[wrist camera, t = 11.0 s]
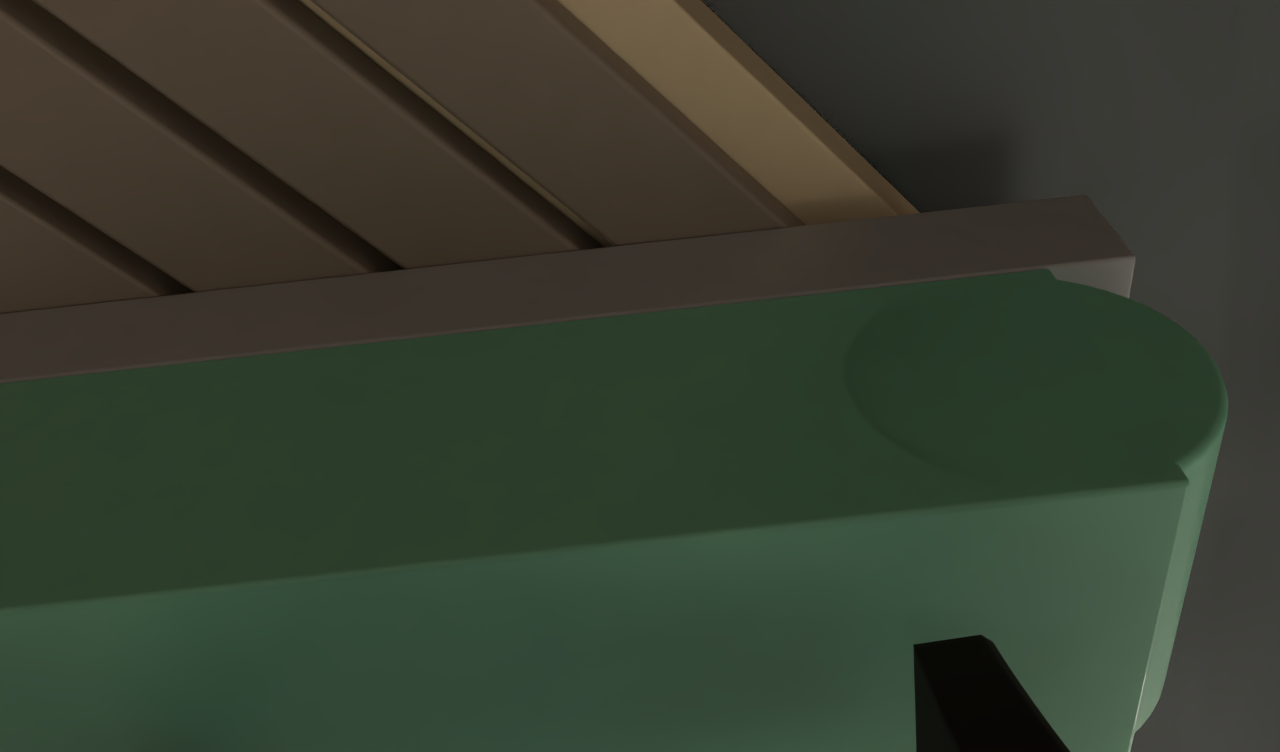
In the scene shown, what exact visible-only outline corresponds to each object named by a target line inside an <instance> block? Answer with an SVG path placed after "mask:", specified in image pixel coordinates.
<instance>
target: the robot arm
mask: <svg viewBox="0 0 1280 752" xmlns="http://www.w3.org/2000/svg"><path fill="white" fill-rule="evenodd" d="M913 651H914V685H915V718H916V752H1070V751H1069V749H1068V748H1067V747H1066V745H1065V744H1064V743H1063V741H1062V740H1061V739H1060V737H1059V736H1058V735H1057V733H1056V732H1055V731H1054V730H1053V728H1052V727H1051V726H1050V724H1049V723H1048V721H1047V720H1046V719H1045V717H1044V716H1043V715H1042V713H1041V712H1040V710H1039V709H1038V708H1037V706H1036V705H1035V704H1034V702H1033V701H1032V699H1031V698H1030V697H1029V695H1028V694H1027V692H1026V691H1025V689H1024V688H1023V687H1022V685H1021V684H1020V682H1019V681H1018V679H1017V678H1016V676H1015V675H1014V673H1013V672H1012V670H1011V669H1010V667H1009V666H1008V664H1007V663H1006V661H1005V660H1004V658H1003V657H1002V655H1001V654H1000V652H999V650H998V649H997V647H996V646H995V644H994V642H993V641H991V640H989V639H988V638H986V637H985V636H983V635H974V636H968V637H961V638H954V639H947V640H941V641H934V642H927V643H920V644H914V645H913Z"/></svg>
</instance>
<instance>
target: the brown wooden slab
mask: <svg viewBox="0 0 1280 752" xmlns="http://www.w3.org/2000/svg"><path fill="white" fill-rule="evenodd" d="M915 213H920V212H919V211H918V210H917V209H916V208H915V207H914V206H913V205H911V204H910V203H909V202H908V201H907V200H906V199H905V198H904V197H903V196H902V195H901V194H900V193H899V192H898V191H897V190H896V189H895V188H894V187H893V186H892V185H891V184H890V183H889V182H888V181H887V180H886V179H885V178H884V177H883V176H882V175H881V174H880V173H878V172H877V171H876V170H875V169H874V168H873V167H872V166H871V165H870V164H869V163H868V162H867V161H866V160H865V159H864V158H863V157H862V156H861V155H860V154H859V153H858V152H857V151H856V150H855V149H854V148H853V147H852V146H851V145H850V144H849V143H848V142H847V141H846V140H844V139H843V138H842V137H841V136H840V135H839V134H838V133H837V132H836V131H835V130H834V129H833V128H832V127H831V126H830V125H829V124H828V123H827V122H826V121H825V120H824V119H823V118H822V117H821V116H820V115H819V114H818V113H817V112H816V111H815V110H814V109H813V108H811V107H810V106H809V105H808V104H807V103H806V102H805V101H804V100H803V99H802V98H801V97H800V96H799V95H798V94H797V93H796V92H795V91H794V90H793V89H792V88H791V87H790V86H789V85H788V84H787V83H786V82H785V81H784V80H783V79H782V78H781V77H780V76H778V75H777V74H776V73H775V72H774V71H773V70H772V69H771V68H770V67H769V66H768V65H767V64H766V63H765V62H764V61H763V60H762V59H761V58H760V57H759V56H758V55H757V54H756V53H755V52H754V51H753V50H752V49H751V48H750V47H749V46H748V45H747V44H745V43H744V42H743V41H742V40H741V39H740V38H739V37H738V36H737V35H736V34H735V33H734V32H733V31H732V30H731V29H730V28H729V27H728V26H727V25H726V24H725V23H724V22H723V21H722V20H721V19H720V18H719V17H718V16H717V15H716V14H715V13H714V12H712V11H711V10H710V9H709V8H708V7H707V6H706V5H705V4H704V3H703V2H702V1H701V0H0V314H4V313H13V312H23V311H32V310H41V309H50V308H59V307H68V306H77V305H86V304H95V303H105V302H114V301H123V300H132V299H141V298H150V297H159V296H168V295H177V294H187V293H196V292H205V291H214V290H223V289H232V288H241V287H250V286H259V285H268V284H278V283H287V282H296V281H305V280H314V279H323V278H332V277H341V276H350V275H360V274H369V273H378V272H387V271H396V270H405V269H414V268H423V267H432V266H441V265H451V264H460V263H469V262H478V261H487V260H496V259H505V258H514V257H523V256H533V255H542V254H551V253H560V252H569V251H578V250H587V249H596V248H605V247H614V246H624V245H633V244H642V243H651V242H660V241H669V240H678V239H687V238H696V237H706V236H715V235H724V234H733V233H742V232H751V231H760V230H769V229H778V228H787V227H797V226H806V225H815V224H824V223H833V222H842V221H851V220H860V219H869V218H879V217H888V216H897V215H906V214H915Z"/></svg>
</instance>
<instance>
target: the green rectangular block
mask: <svg viewBox="0 0 1280 752" xmlns="http://www.w3.org/2000/svg"><path fill="white" fill-rule="evenodd" d="M1134 265H1135V256H1134V254H1133V253H1132V252H1131V250H1130V249H1129V248H1128V247H1127V245H1126V244H1125V243H1124V242H1123V240H1122V239H1121V238H1120V236H1119V235H1118V234H1117V233H1116V231H1115V230H1114V229H1113V228H1112V226H1111V225H1110V224H1109V223H1108V221H1107V220H1106V219H1105V217H1104V216H1103V215H1102V214H1101V212H1100V211H1099V210H1098V209H1097V207H1096V206H1095V205H1094V203H1093V202H1092V201H1091V200H1090V198H1089V197H1088V196H1086V195H1079V196H1070V197H1061V198H1052V199H1042V200H1033V201H1024V202H1015V203H1006V204H997V205H988V206H979V207H970V208H960V209H951V210H942V211H933V212H924V213H915V214H906V215H897V216H888V217H879V218H869V219H860V220H851V221H842V222H833V223H824V224H815V225H806V226H797V227H787V228H778V229H769V230H760V231H751V232H742V233H733V234H724V235H715V236H706V237H696V238H687V239H678V240H669V241H660V242H651V243H642V244H633V245H624V246H614V247H605V248H596V249H587V250H578V251H569V252H560V253H551V254H542V255H533V256H523V257H514V258H505V259H496V260H487V261H478V262H469V263H460V264H451V265H441V266H432V267H423V268H414V269H405V270H396V271H387V272H378V273H369V274H360V275H350V276H341V277H332V278H323V279H314V280H305V281H296V282H287V283H278V284H268V285H259V286H250V287H241V288H232V289H223V290H214V291H205V292H196V293H187V294H177V295H168V296H159V297H150V298H141V299H132V300H123V301H114V302H105V303H95V304H86V305H77V306H68V307H59V308H50V309H41V310H32V311H23V312H13V313H4V314H0V752H916V718H915V685H914V651H913V645H914V644H920V643H927V642H934V641H941V640H947V639H954V638H961V637H968V636H974V635H983V636H985V637H986V638H988V639H989V640H991V641H993V642H994V644H995V646H996V647H997V649H998V650H999V652H1000V654H1001V655H1002V657H1003V658H1004V660H1005V661H1006V663H1007V664H1008V666H1009V667H1010V669H1011V670H1012V672H1013V673H1014V675H1015V676H1016V678H1017V679H1018V681H1019V682H1020V684H1021V685H1022V687H1023V688H1024V689H1025V691H1026V692H1027V694H1028V695H1029V697H1030V698H1031V699H1032V701H1033V702H1034V704H1035V705H1036V706H1037V708H1038V709H1039V710H1040V712H1041V713H1042V715H1043V716H1044V717H1045V719H1046V720H1047V721H1048V723H1049V724H1050V726H1051V727H1052V728H1053V730H1054V731H1055V732H1056V733H1057V735H1058V736H1059V737H1060V739H1061V740H1062V741H1063V743H1064V744H1065V745H1066V747H1067V748H1068V749H1069V751H1070V752H1130V751H1131V746H1132V742H1133V737H1134V733H1135V732H1136V731H1137V730H1138V729H1139V728H1140V727H1141V726H1142V725H1143V724H1144V722H1145V721H1146V720H1147V719H1148V717H1149V716H1150V715H1151V714H1152V712H1153V710H1154V708H1155V706H1156V704H1157V702H1158V700H1159V698H1160V695H1161V692H1162V688H1163V685H1164V682H1165V677H1166V673H1167V669H1168V665H1169V660H1170V656H1171V652H1172V648H1173V644H1174V639H1175V635H1176V631H1177V627H1178V622H1179V618H1180V614H1181V610H1182V606H1183V601H1184V597H1185V593H1186V589H1187V585H1188V580H1189V576H1190V572H1191V568H1192V563H1193V559H1194V555H1195V551H1196V547H1197V542H1198V538H1199V534H1200V530H1201V525H1202V521H1203V517H1204V513H1205V509H1206V504H1207V500H1208V496H1209V492H1210V488H1211V483H1212V479H1213V475H1214V471H1215V466H1216V462H1217V458H1218V454H1219V450H1220V445H1221V441H1222V437H1223V433H1224V428H1225V424H1226V420H1227V413H1228V398H1227V392H1226V387H1225V383H1224V380H1223V378H1222V376H1221V373H1220V371H1219V369H1218V366H1217V365H1216V363H1215V362H1214V360H1213V359H1212V357H1211V356H1210V354H1209V353H1208V351H1207V350H1206V349H1205V348H1204V347H1203V346H1202V345H1201V344H1200V343H1199V342H1198V340H1197V339H1195V338H1194V337H1193V336H1192V335H1191V334H1190V333H1188V332H1187V331H1186V330H1185V329H1184V328H1182V327H1181V326H1180V325H1178V324H1177V323H1175V322H1174V321H1172V320H1171V319H1169V318H1168V317H1166V316H1164V315H1162V314H1161V313H1159V312H1157V311H1155V310H1153V309H1151V308H1149V307H1148V306H1145V305H1143V304H1141V303H1138V302H1136V301H1134V300H1131V299H1129V295H1130V289H1131V283H1132V277H1133V271H1134Z"/></svg>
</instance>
